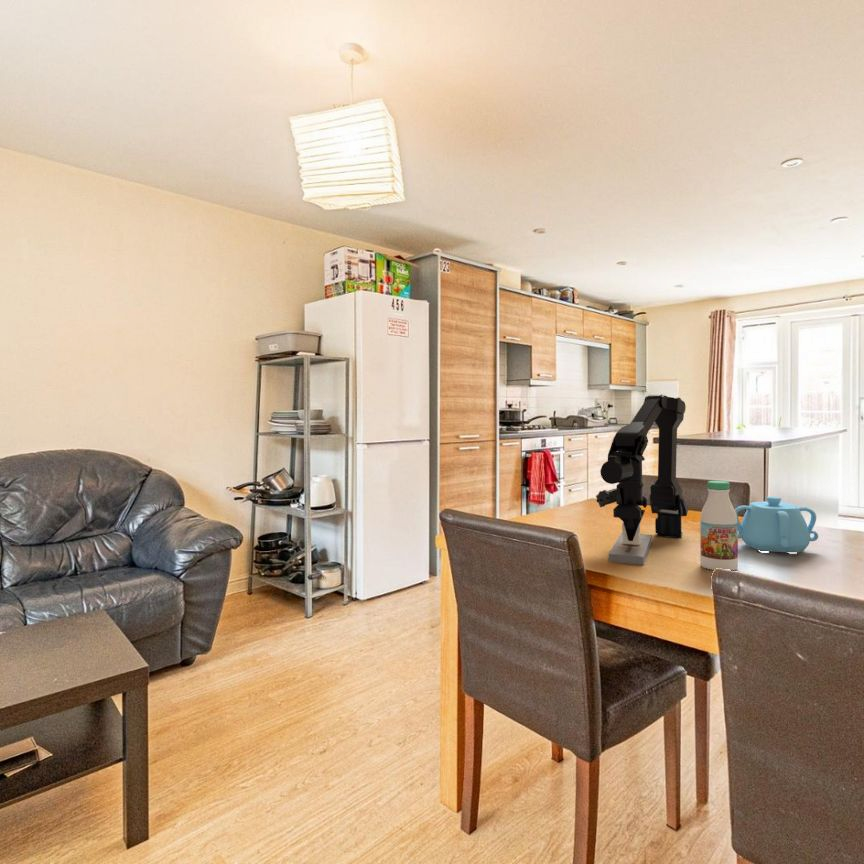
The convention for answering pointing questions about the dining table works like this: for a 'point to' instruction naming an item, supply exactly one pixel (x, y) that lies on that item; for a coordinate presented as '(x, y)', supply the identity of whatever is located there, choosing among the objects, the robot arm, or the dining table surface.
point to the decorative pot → (776, 526)
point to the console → (630, 551)
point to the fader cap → (636, 538)
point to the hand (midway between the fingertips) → (631, 539)
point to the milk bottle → (718, 529)
